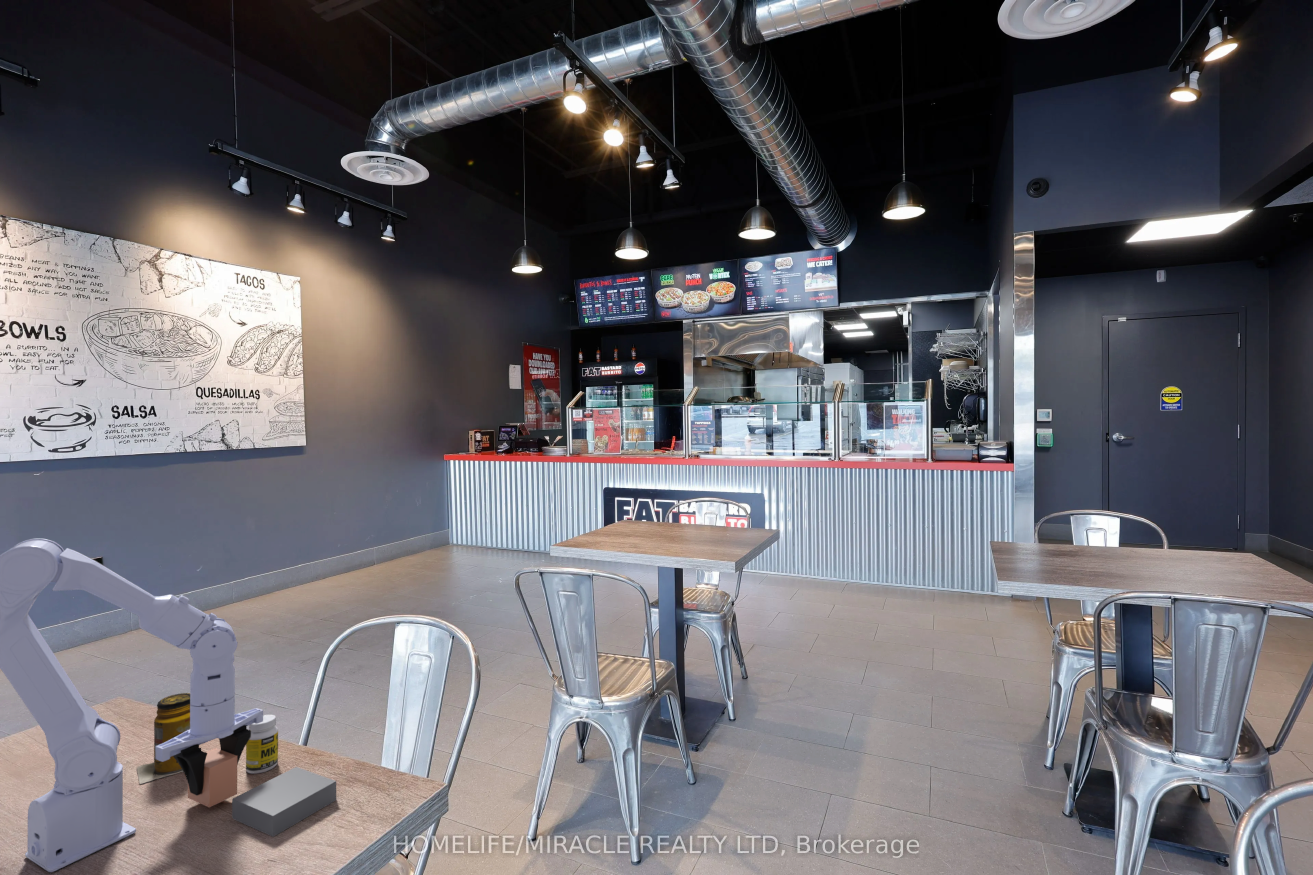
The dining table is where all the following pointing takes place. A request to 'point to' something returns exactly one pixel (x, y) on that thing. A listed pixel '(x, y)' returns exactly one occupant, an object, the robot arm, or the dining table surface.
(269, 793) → the base brick
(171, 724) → the condiment
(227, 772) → the top brick
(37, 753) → the dining table surface
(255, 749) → the supplement bottle
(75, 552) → the robot arm
